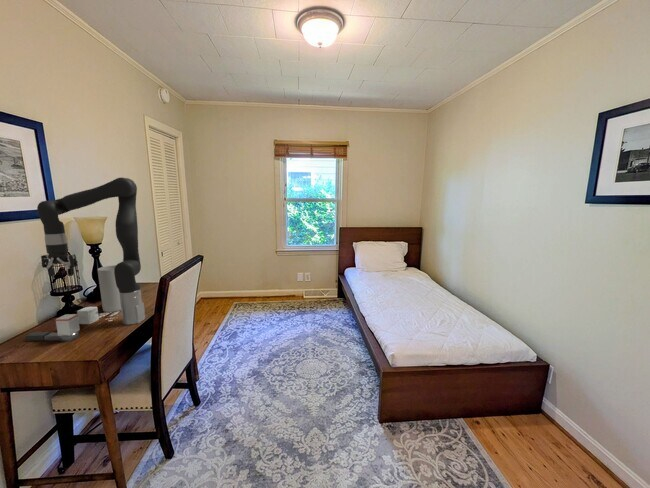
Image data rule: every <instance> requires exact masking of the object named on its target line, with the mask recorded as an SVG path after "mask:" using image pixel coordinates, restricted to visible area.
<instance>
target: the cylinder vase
mask: <svg viewBox="0 0 650 488" xmlns="http://www.w3.org/2000/svg"><path fill="white" fill-rule="evenodd" d="M116 265H117V264H116ZM116 265H115V264H114V265H107V266H102V267H99V268H97V276H98V284H99V290H100V299H101V306H102V311H103V312H105V313H115V312H119V311H121V303H120V295H119V289H118V288H117V286H116V281H115V275H114V269H115V266H116Z"/></svg>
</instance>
